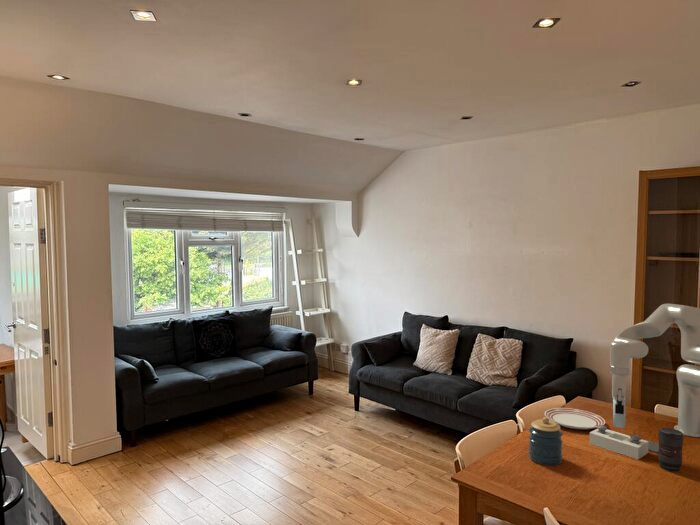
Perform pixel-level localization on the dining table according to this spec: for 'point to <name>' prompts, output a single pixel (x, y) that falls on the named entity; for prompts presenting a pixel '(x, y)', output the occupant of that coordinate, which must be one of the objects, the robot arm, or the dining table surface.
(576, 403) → the dining table surface
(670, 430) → the camera lens
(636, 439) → the plunger
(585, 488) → the dining table surface
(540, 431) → the canister
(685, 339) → the robot arm
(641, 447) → the housing
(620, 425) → the cartridge
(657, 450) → the mat
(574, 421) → the dinner plate
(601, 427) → the plunger
